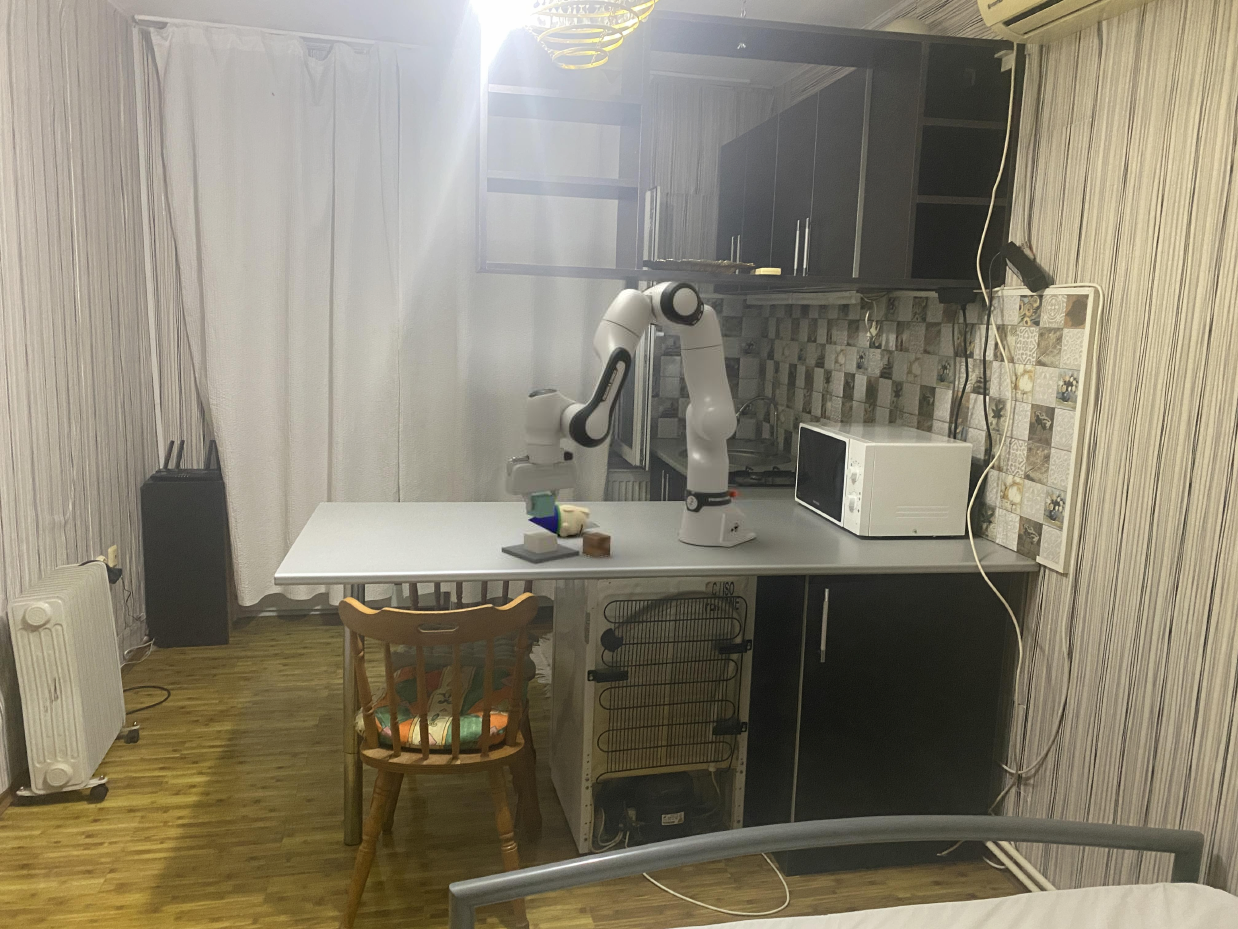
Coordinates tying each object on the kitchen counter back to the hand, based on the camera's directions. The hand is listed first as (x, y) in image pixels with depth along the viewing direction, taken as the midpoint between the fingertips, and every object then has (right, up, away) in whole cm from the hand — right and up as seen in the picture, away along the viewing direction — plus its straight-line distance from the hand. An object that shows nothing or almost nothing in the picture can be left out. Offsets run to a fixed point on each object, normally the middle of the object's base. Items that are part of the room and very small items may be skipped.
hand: (540, 508), depth 232 cm
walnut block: (+14, -12, +3) cm, 18 cm away
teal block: (0, -2, 0) cm, 2 cm away
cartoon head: (+4, -8, +22) cm, 24 cm away
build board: (0, -11, +2) cm, 12 cm away
